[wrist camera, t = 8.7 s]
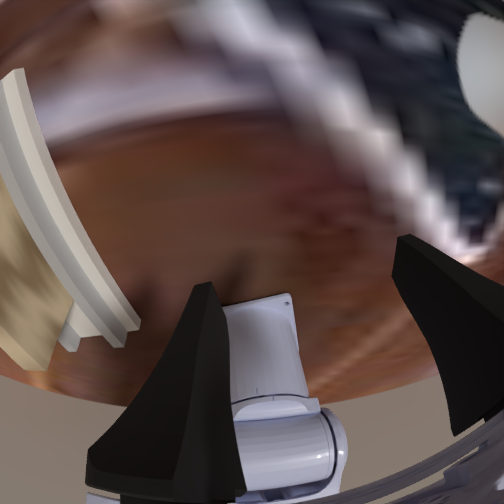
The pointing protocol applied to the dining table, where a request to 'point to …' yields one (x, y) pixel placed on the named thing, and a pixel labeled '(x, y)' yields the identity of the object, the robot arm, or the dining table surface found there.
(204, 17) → the dining table surface
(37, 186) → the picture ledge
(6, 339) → the oak frame
